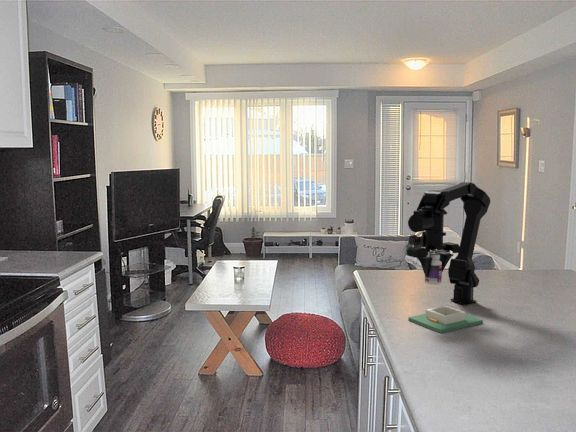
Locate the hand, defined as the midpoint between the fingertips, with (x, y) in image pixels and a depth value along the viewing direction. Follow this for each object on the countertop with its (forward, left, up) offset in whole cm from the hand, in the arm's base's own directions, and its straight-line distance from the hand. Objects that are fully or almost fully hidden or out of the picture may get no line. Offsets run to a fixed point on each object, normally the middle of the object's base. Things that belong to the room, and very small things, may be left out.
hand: (433, 275), depth 180 cm
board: (+4, +10, -12) cm, 16 cm away
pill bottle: (0, 0, -3) cm, 3 cm away
